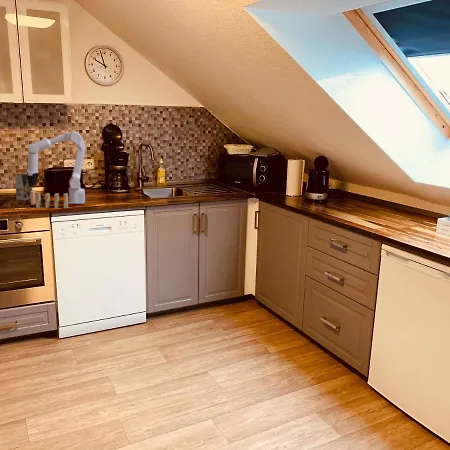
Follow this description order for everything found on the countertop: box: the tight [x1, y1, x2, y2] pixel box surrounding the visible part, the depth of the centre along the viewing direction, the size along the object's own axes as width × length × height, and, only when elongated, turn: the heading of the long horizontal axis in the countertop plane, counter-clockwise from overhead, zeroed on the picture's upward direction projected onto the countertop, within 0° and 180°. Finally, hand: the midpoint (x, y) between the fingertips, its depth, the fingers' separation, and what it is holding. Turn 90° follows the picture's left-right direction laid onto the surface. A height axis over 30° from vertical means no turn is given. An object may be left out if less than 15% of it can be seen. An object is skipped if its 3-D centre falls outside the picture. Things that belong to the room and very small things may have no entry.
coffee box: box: [14, 173, 34, 201], centre depth 304 cm, size 9×6×16 cm
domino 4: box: [63, 192, 69, 209], centre depth 284 cm, size 2×5×8 cm, turn 10°
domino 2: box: [44, 192, 51, 209], centre depth 283 cm, size 2×5×8 cm, turn 10°
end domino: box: [30, 190, 36, 205], centre depth 291 cm, size 2×5×8 cm, turn 9°
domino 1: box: [35, 192, 42, 209], centre depth 282 cm, size 2×5×8 cm, turn 9°
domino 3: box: [53, 192, 60, 209], centre depth 284 cm, size 2×5×8 cm, turn 10°
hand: (32, 185), depth 289 cm, fingers open, 7 cm apart
